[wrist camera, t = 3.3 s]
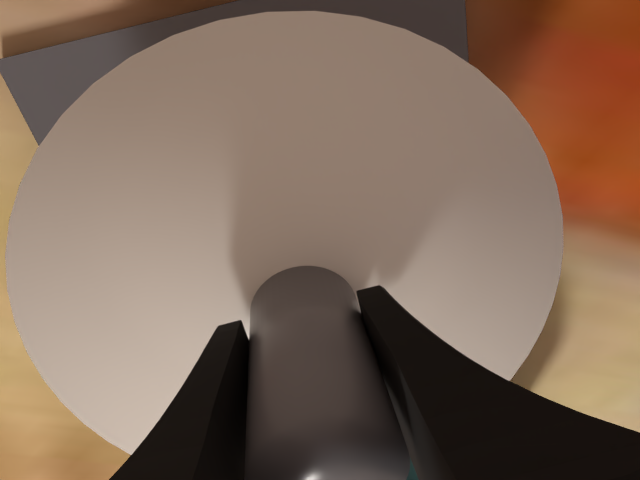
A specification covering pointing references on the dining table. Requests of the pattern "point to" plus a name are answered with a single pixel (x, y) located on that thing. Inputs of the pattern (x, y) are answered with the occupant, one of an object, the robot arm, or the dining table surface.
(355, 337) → the lid
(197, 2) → the dining table surface
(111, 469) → the dining table surface
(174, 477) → the robot arm
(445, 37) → the mat
